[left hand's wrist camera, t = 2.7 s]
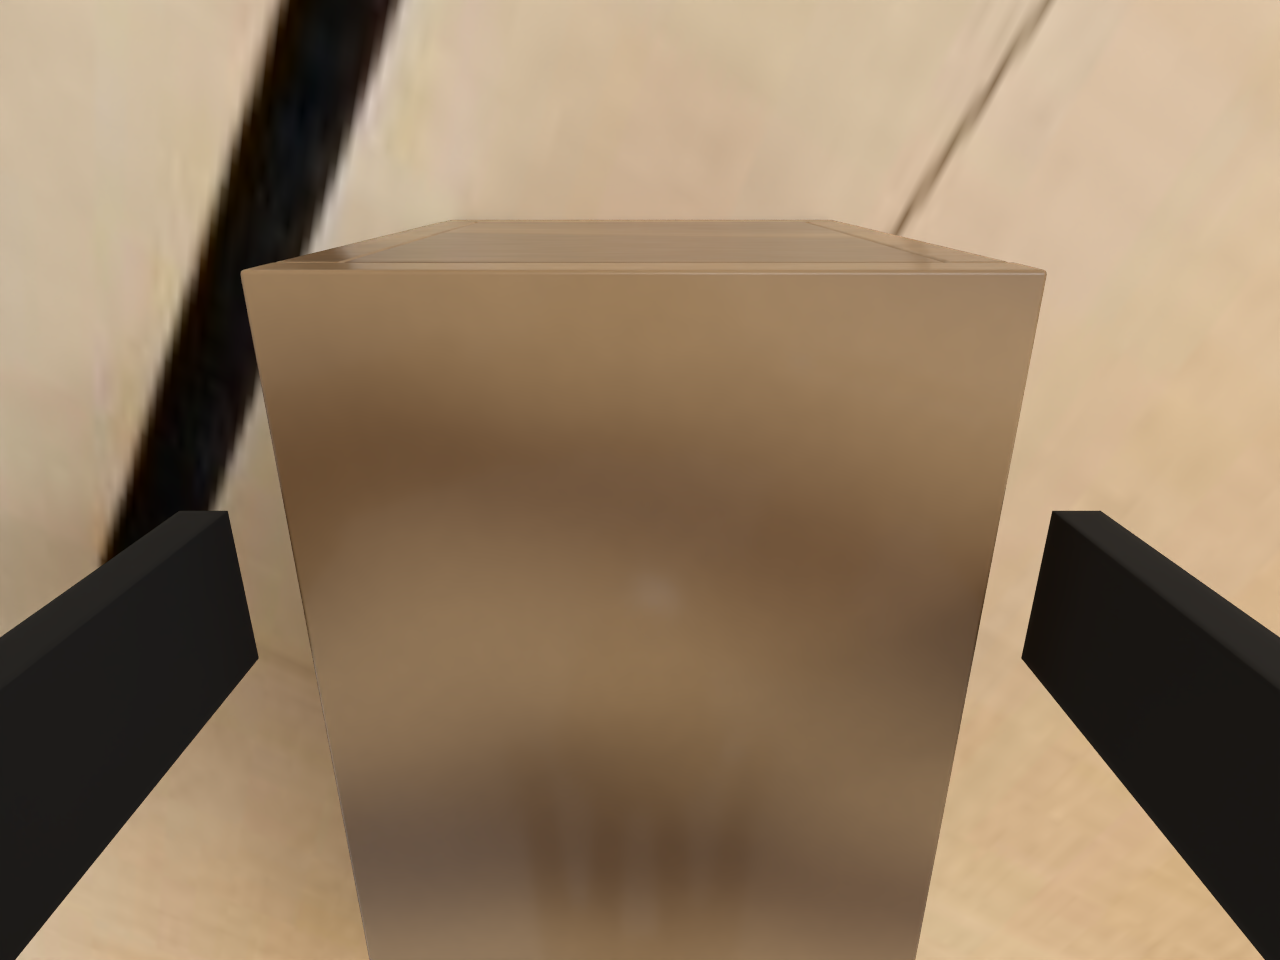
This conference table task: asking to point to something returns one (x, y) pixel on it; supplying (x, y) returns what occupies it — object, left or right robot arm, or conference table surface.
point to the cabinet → (642, 572)
